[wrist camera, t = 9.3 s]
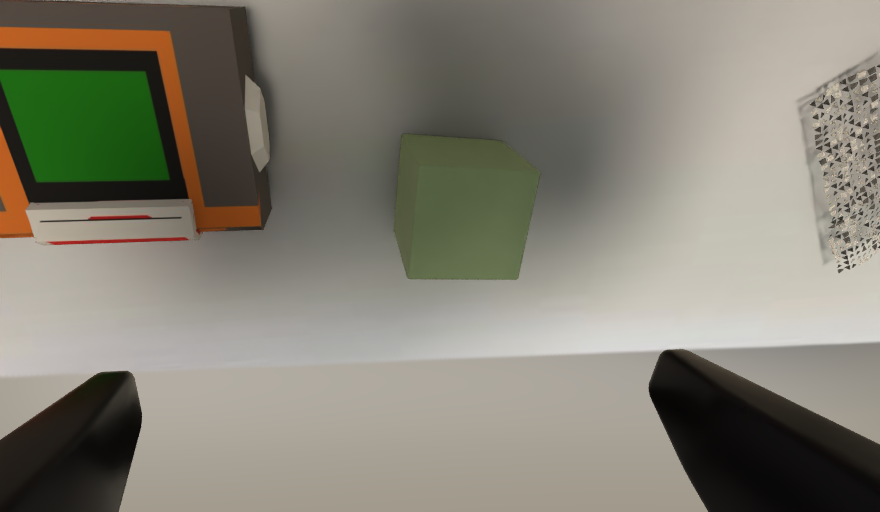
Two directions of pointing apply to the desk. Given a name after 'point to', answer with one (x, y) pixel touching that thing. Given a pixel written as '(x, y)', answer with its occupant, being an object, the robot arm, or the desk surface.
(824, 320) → the desk surface
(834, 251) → the rug
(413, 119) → the desk surface
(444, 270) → the block
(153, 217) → the electronic device
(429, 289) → the desk surface
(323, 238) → the desk surface
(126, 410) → the robot arm
